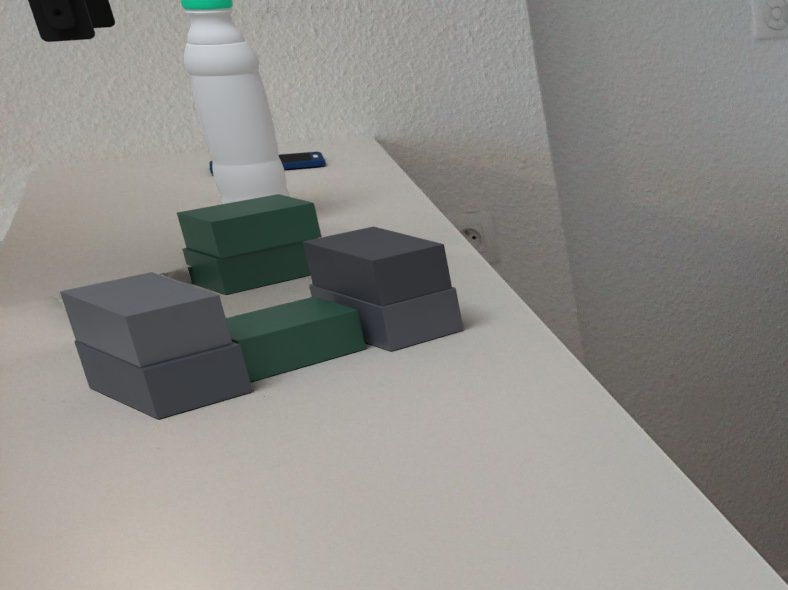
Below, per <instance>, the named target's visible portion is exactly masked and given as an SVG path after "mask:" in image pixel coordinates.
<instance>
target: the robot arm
mask: <svg viewBox="0 0 788 590" xmlns="http://www.w3.org/2000/svg"><path fill="white" fill-rule="evenodd" d="M27 2H28V4H29V7H30V10H31V14H32V16H33V19H34V22H35V25H36V28H37V31H38V34H39V37H40V39H41V40H42V41H44V42H46V43H55V42H68V41H70V42H73V41H83V40H85V41H86V40H87V41H88V40H92V39H94V38H95V36H96V31H95V29H106V28H112V27H114V26H115V25H116V19H115V16H114V12H113V9H112V7H111V3H110V0H27Z"/></svg>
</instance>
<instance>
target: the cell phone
mask: <svg viewBox="0 0 788 590" xmlns="http://www.w3.org/2000/svg"><path fill="white" fill-rule="evenodd" d="M278 154H279V158H280V160H281V162H282V165H283V168H284V170H290V169H304V168H315V167H324V166H325V165H326V160H325V158H324V155H323V153H322V152H321V151H306V152H293V153H278ZM208 164H209V172H210V174H212V175H213V168H212V164H213V163H212V160H210V161H209V162H208Z"/></svg>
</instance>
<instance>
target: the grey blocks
mask: <svg viewBox="0 0 788 590" xmlns="http://www.w3.org/2000/svg"><path fill="white" fill-rule="evenodd" d="M303 245H304V250H305V254H306V258H307V262H308V267H309V271H310V275H309V276H310V279H311V283H310V284H308V288H309V292H310V295H311V296H310V297H314V296H315V297H318V298H322V299H325V300H328V301H331V302H334V303H338V304H341V305H344V306H347V307H350V308H353V309H357V310H358V314H359V318H360V323H361V327H362V332H363V337H364V341H365V344H369V345H372V346H374V347H378V348H380V349H384V350H385V351H389V352H394V351H396V350H397V351H398V350H401V349H403V348H407V347H410V346H414V345H417V344H421V343H424V342H427V341H432V340H435V339H438V338H441V337H442V338H443V337H445V336H449V335H452V334H455V333H459V332H462V331H464V324H463V319H462V314H461V308H460V302H459V298H458V292H457V288H456V287H454V286H452V280H451V275H450V274H451V273H450V269H449V263H448V258H447V252H446V246H445V244H444V243H442V242H437V241H434V240H429V239H426V238H421V237H417V236H413V235H409V234H405V233H401V232H397V231H393V230H390V229H386V228H381V227H377V226H369V227H364V228H360V229H354V230H351V231H346V232H340V233H335V234H331V235H327V236H322V237H320V238H317V239H312V240H307V241H303ZM59 294H60V297H61V299H62V303H63V306H64V309H65V312H66V315H67V319H68V322H69V324H70V327H71V330H72V333H73V337H74V341H73V342H74V345H75V348H76V352H77V354H78V358H79V360H80V364H81V366H82V369H83V372H84V375H85V379H86V381H87V384H88V388H90V389H92V390H94V391H96V392H98V393H100V394H102V395H105V396H107V397H109V398H111V399H113V400H115V401H117V402H120V403H122V404H124V405H126V406H129V407H130V408H132V409H135V410H137V411H139V412H142V413H144V414H146V415H148V416H150V417H153V418H154V419H157V420H160V419H163V418H168V417H171V416H174V415H177V414H181V413H184V412H188V411H191V410H194V409H197V408H198V409H199V408H201V407H205V406H209V405H212V404H215V403H218V402H219V403H220V402H222V401H226V400H229V399H232V398H235V397H236V398H237V397H238V396H242V395H247V394H250V393H252V392H253V388H252V384H251V382H250V380H249V376H248V372H247V369H246V365H245V361H244V358H243V354H242V350H241V346H240V344H237V343H234V342H232V340H231V336H230V332H229V329H228V325H227V321H226V318H227V317H226V313H225V310H224V307H223V302H222V299H221V296H220V294H218V293H215V292H212V291H209V290H206V289H203V288H200V287H197V286H196V285H195V286H194V285H193V284H192V285H191V284H190V283H189V284H188V283H185V282H183V281H179V280H177V279H173V278H171V277H168V276H165V275H162V274H159V273H156V272H152V271H151V272H146V273H145V272H144V273H141V274H135V275H132V276H127V277H121V278H116V279H112V280H108V281H102V282H98V283H93V284H88V285H84V286H79V287H75V288H69V289H63V290H61V291H59Z"/></svg>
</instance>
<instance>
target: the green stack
mask: <svg viewBox="0 0 788 590" xmlns="http://www.w3.org/2000/svg"><path fill="white" fill-rule="evenodd" d="M176 216H177V219H178V223H179V227H180V230H181V233H182V238H183V240H184V244H185V247H183V248H181V251H182V254H183V257H184V261H185V264H186V265H187V272H188V275H189V278H190V282H191V284H192V285H195V286H199V287H202V288H204V289H208V290H211V291H213V292H217V293H219V294H223V295H230V294H236V293H239V292H245V291H248V290H252V289H257V288H261V287H265V286H269V285H274V284H278V283H282V282H287V281H291V280H294V279H299V278H304V277H309V276H311V275H310V271H309V267H308V262H307V258H306V254H305V250H304V245H303V241H307V240H312V239H317V238H321V237H323V236H322V232H321V227H320V223H319V218H318V214H317V210H316V206H315V202H312V201H309V200H305V199H301V198H297V197H292V196H290V197H288V196H284V195H280V194H276V195H271V196H265V197H259V198H254V199H248V200H243V201H237V202H232V203H226V204H221V203H220V204H216V205H210V206H205V207H199V208H195V209H188V210H183V211H177V212H176Z"/></svg>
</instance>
